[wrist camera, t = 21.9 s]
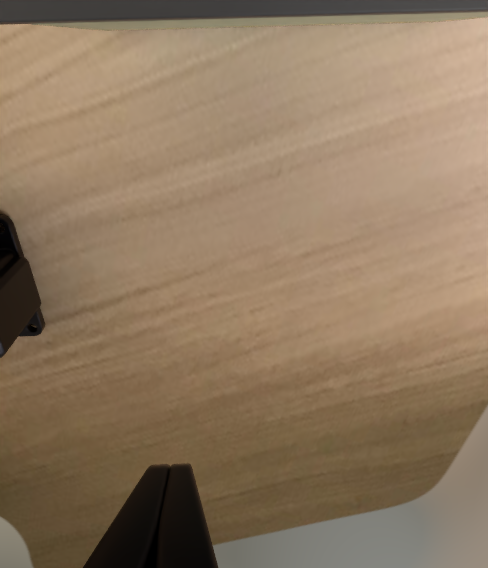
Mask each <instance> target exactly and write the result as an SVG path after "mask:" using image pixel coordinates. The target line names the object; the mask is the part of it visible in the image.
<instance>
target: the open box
mask: <svg viewBox="0 0 488 568" xmlns="http://www.w3.org/2000/svg"><path fill="white" fill-rule="evenodd" d="M485 17H488V12H471V13H431V14H392V15H353V16H313V17H274V18H235V19H195V20H156V21H117V22H78V23H38V24H33V25H45V26H57V27H68V28H80V29H92V30H105V31H110V30H148V29H186V28H224V27H262V26H300V25H337V24H375V23H413V22H442V21H453V20H464V19H474V18H485Z"/></svg>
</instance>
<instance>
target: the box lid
mask: <svg viewBox="0 0 488 568" xmlns="http://www.w3.org/2000/svg"><path fill="white" fill-rule="evenodd" d="M471 12H488V0H0V24H38V23H78V22H117V21H156V20H195V19H235V18H274V17H313V16H353V15H392V14H431V13H471Z"/></svg>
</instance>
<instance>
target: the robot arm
mask: <svg viewBox="0 0 488 568" xmlns="http://www.w3.org/2000/svg"><path fill="white" fill-rule="evenodd" d="M0 223H1V224H2V225H3V226H4V229H5V230H3V229H1V228H0V358H1V357H3V356H4V355H5V353H6V352H7V351H8V349H9V348H10V347H11V345H12V344H13V343H14V341H15V340H16V338H17V337H18V336H37V335H39V334H41V332H42V331H43V329H44V327H45V322H44V319H43V316H42V313H41V309H40V306H41V300H40V297H39V294H38V291H37V287H36V284H35V281H34V278H33V274H32V271H31V268H30V265H29V262H28V260H27V259H26V258H25V257H24V255H23V252H22V249H21V245H20V242H19V239H18V236H17V233H16V229H15V226H14V223H13V222H12V220H11V219H10V218H9V217H8V216H6V215H3V214H0ZM31 324H34V325H35V326H36V327H37V328H36V327H33V326H31ZM83 568H218V565H217V561H216V557H215V553H214V550H213V546H212V542H211V538H210V534H209V531H208V527H207V523H206V519H205V515H204V512H203V508H202V504H201V500H200V496H199V493H198V489H197V485H196V481H195V477H194V474H193V470H192V467H191V465H190V464H188V463H187V464H173V465H172V466H171V467H170V465H168V464H161V465H151V466H150V467H148V469H147V470H146V471H145V473H144V475H143V476H142V478H141V479H140V481H139V482H138V484H137V485H136V487H135V488H134V490H133V491H132V493H131V495H130V496H129V498H128V499H127V501H126V502H125V504H124V505H123V507H122V508H121V510H120V511H119V513H118V514H117V516H116V518H115V519H114V521H113V522H112V524H111V525H110V527H109V528H108V530H107V531H106V533H105V534H104V536H103V537H102V539H101V541H100V542H99V544H98V545H97V547H96V548H95V550H94V551H93V553H92V554H91V556H90V557H89V559H88V561H87V562H86V564H85V565H84V567H83Z"/></svg>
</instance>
